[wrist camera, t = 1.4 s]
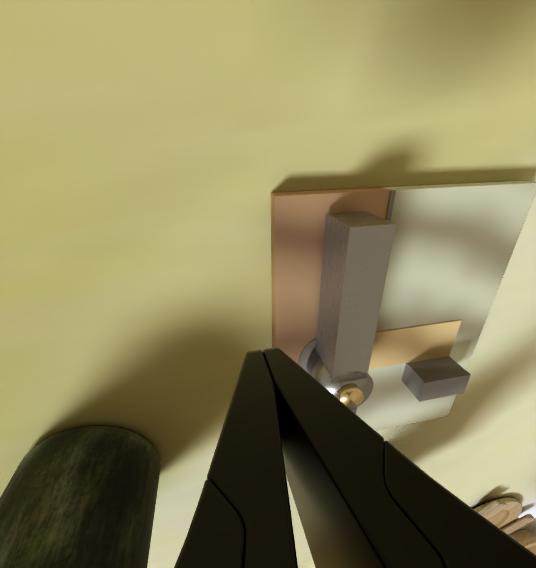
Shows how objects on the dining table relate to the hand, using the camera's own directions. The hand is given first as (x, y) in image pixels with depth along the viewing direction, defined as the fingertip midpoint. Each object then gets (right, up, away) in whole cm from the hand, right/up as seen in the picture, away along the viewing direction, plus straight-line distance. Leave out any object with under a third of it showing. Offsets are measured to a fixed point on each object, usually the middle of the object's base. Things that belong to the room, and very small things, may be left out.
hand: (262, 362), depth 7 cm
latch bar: (+5, 0, +12) cm, 12 cm away
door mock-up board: (+8, -2, +15) cm, 17 cm away
